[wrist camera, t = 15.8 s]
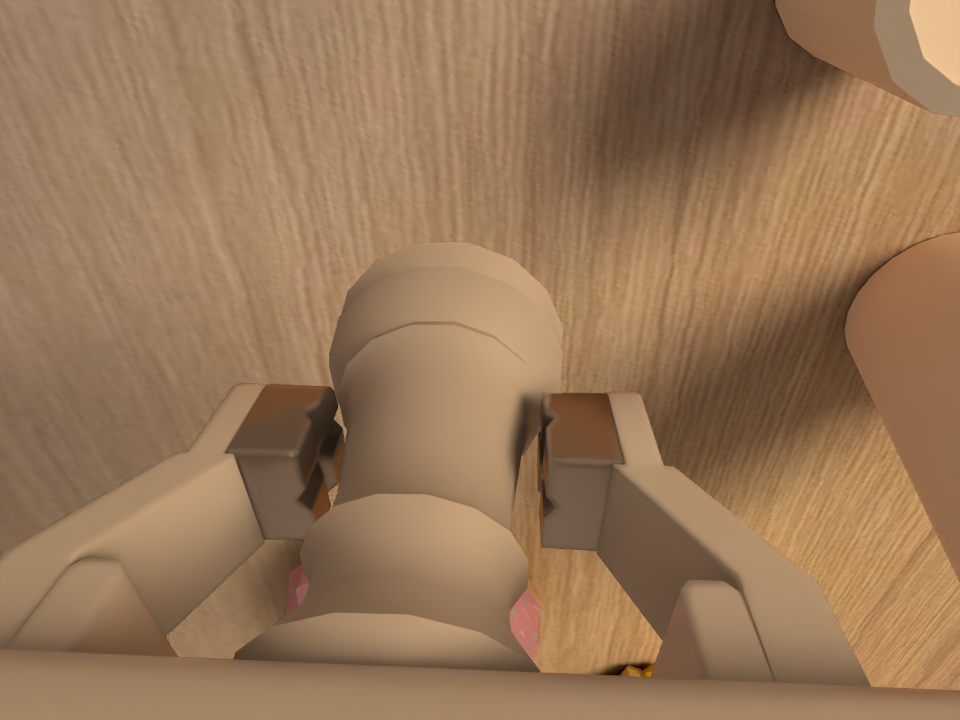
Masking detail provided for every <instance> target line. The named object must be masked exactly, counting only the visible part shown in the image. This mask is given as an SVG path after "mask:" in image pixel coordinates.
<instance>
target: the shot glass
mask: <svg viewBox="0 0 960 720" xmlns="http://www.w3.org/2000/svg"><path fill="white" fill-rule="evenodd" d="M775 5H776V8H777V10H778V13H779V15H780V17H781V20H782V22H783V25H784V27H785V29H786V32H787V34H788V37H789V38H791V39H792V40H793V41H795V42H796V43H797V44H798V45H800V46H801V47H802V48H804V49H805V50H806V51H807V52H809V53H810V54H811V55H813V56H814V57H816V58H819V59H821V60H823V61H825V62H827V63H829V64H831V65H833V66H835V67H837V68H839V69H841V70H844V71H846V72H848V73H850V74H852V75H854V76H856V77H858V78H860V79H862V80H864V81H866V82H868V83H871V84H873V85H875V86H877V87H879V88H881V89H883V90H885V91H887V92H889V93H891V94H893V95H896V96H898V97H900V98H902V99H904V100H906V101H908V102H910V103H912V104H914V105H916V106H918V107H921V108H923V109H925V110H927V111H929V112H931V113H935V114H942V115H949V116H956V117H960V0H775Z"/></svg>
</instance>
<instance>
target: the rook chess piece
mask: <svg viewBox="0 0 960 720" xmlns="http://www.w3.org/2000/svg"><path fill="white" fill-rule="evenodd" d="M562 336H563V326H562V324H561V322H560V319H559V317H558V315H557V312H556V310H555V307H554V305H553V303H552V300H551V298H550V296H549V293H548V291H547V290H546V289H545V288H544V287H543V286H542V285H541V284H540V283H539V282H538V281H537V280H536V279H535V278H533V277H532V276H531V275H530V274H529V273H528V272H527V271H526V270H525V269H524V268H523V267H522V266H520V265H519V264H518V263H517V262H516V261H515V260H514V259H512V258H509V257H506V256H504V255H501V254H498V253H496V252H493V251H490V250H488V249H485V248H482V247H480V246H477V245H474V244H472V243H469V242H428V243H416V244H414V245H412V246H409V247H407V248H404V249H402V250H400V251H397V252H395V253H393V254H390V255H388V256H385V257H383V258H381V259H378V260H376V261H375V262H374V263H373V264H372V265H371V266H370V267H369V269H368V270H367V271H366V272H365V273H364V274H363V275H362V276H361V277H360V278H359V279H358V281H357V282H356V283H355V284H354V285H353V286H352V287H351V288H350V289H349V290H348V292H347V296H346V299H345V303H344V307H343V310H342V314H341V315H340V316H339V320H338V323H337V327H336V331H335V334H334V338H333V342H332V345H331V349H330V353H329V367H330V372H331V376H332V381H333V385H334V389H335V394H336V398H337V403H338V404H339V405H340V409H341V413H342V418H343V422H344V426H345V427H346V429H347V435H346V441H345V448H344V454H343V461H342V467H341V474H340V480H339V486H338V493H337V496H336V499H335V502H334V505H333V508H332V509H330V510H329V511H328V512H327V513H325V514H324V515H323V516H322V517H320V518H319V519H318V520H317V521H316V522H314V523H313V524H312V525H311V526H309V527H308V528H307V531H306V534H305V537H304V541H303V544H302V547H301V550H300V553H299V557H300V560H301V563H302V566H303V569H304V571H305V574H306V577H307V580H308V583H309V585H308V591H307V593H306V595H305V597H304V600H303V602H302V604H300V605H299V606H298V607H296V608H295V609H294V610H292V611H291V612H290V613H288V614H287V615H285V616H284V617H283V618H281V619H280V620H279V621H277V622H276V623H275V624H273V625H272V626H271V627H269V628H268V629H266V630H265V631H264V632H262V633H261V634H260V635H258V636H257V637H256V638H254V639H253V640H252V641H250V642H249V643H247V644H246V645H245V646H243V647H242V648H241V649H239V650H238V651H237V652H235V656H234V659H239V660H262V661H285V662H309V663H332V664H355V665H379V666H402V667H425V668H448V669H472V670H495V671H519V672H540V670H539V669H538V668H537V666H536V665H535V664H534V662H533V661H532V659H531V658H530V657H529V655H528V654H527V653H526V651H525V650H524V649H523V647H522V646H521V645H520V643H519V642H518V640H517V639H516V638H515V636H514V635H513V634H512V632H511V627H510V619H509V615H510V610H511V609H512V607H513V606H514V605H515V603H516V602H517V601H518V599H519V598H520V597H521V595H522V594H523V593H524V591H525V590H526V589H527V587H528V563H529V560H528V558H527V556H526V555H525V553H524V552H523V550H522V549H521V547H520V545H519V544H518V542H517V541H516V539H515V537H514V536H513V534H512V533H511V516H512V510H513V504H514V498H515V492H516V486H517V480H518V474H519V467H520V461H521V456H522V455H524V454H525V452H526V451H527V449H528V447H529V446H530V444H531V442H532V441H533V439H534V437H535V436H536V435H537V434H538V433H539V432H540V430H541V423H540V405H541V396H542V392H560V391H561V377H562V362H563V353H562Z"/></svg>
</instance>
